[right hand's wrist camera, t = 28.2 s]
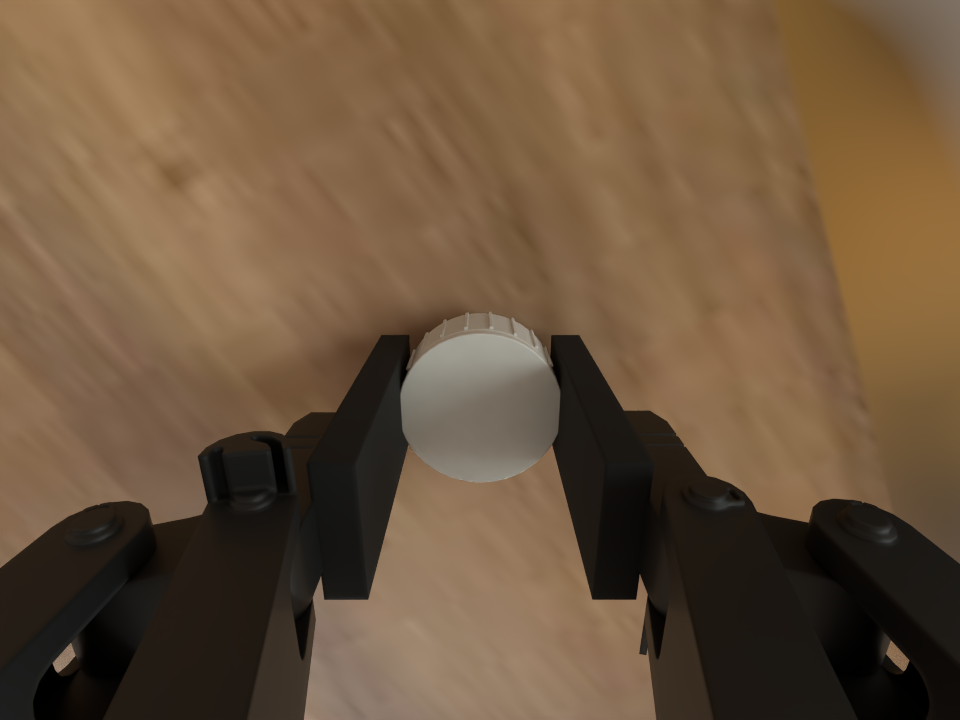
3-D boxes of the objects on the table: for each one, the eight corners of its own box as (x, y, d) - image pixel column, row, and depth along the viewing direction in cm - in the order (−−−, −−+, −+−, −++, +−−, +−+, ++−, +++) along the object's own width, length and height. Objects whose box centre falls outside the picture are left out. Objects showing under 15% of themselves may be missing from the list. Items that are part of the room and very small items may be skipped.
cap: (440, 284, 13) (434, 302, 12) (581, 347, 14) (596, 372, 12) (384, 415, 15) (371, 448, 13) (515, 466, 15) (519, 505, 14)
